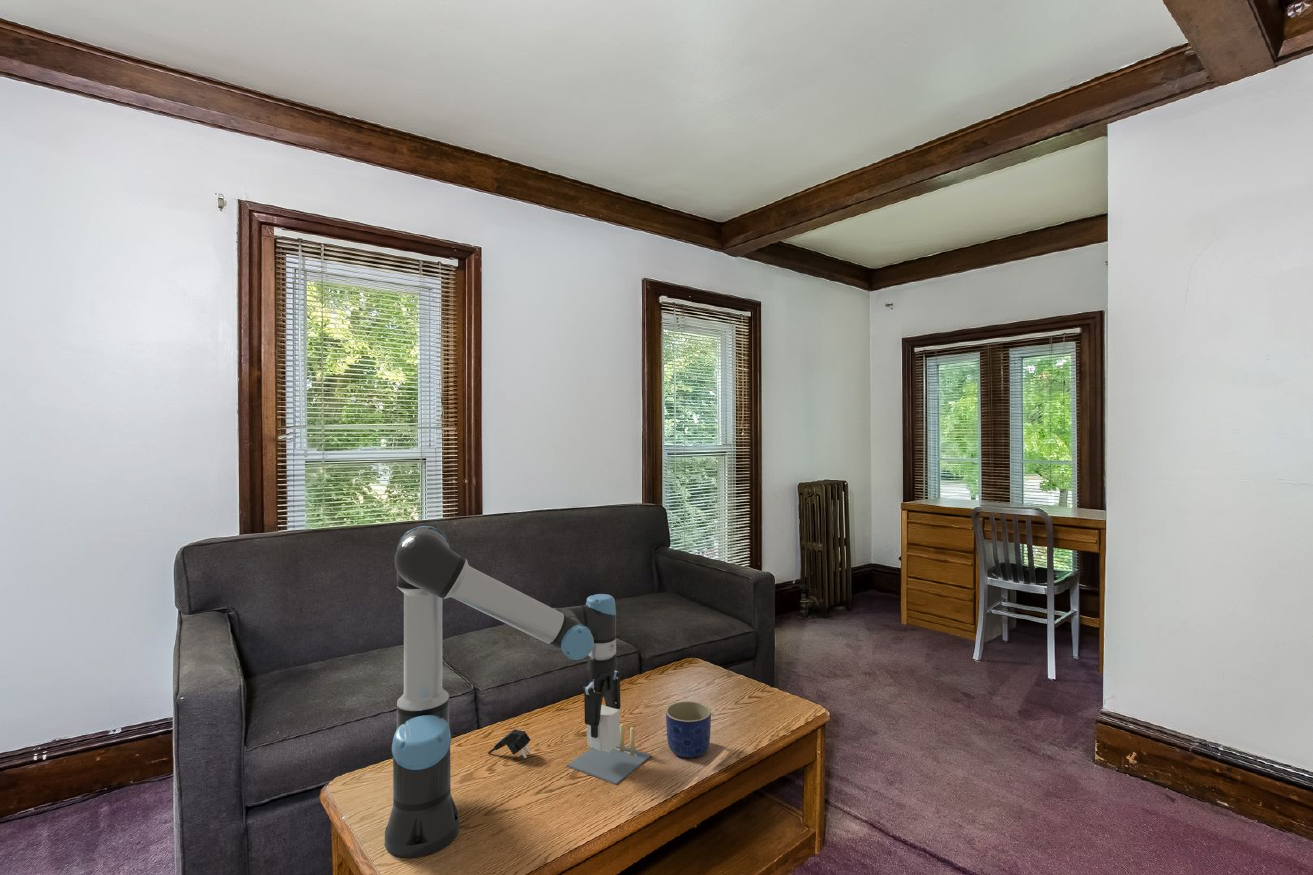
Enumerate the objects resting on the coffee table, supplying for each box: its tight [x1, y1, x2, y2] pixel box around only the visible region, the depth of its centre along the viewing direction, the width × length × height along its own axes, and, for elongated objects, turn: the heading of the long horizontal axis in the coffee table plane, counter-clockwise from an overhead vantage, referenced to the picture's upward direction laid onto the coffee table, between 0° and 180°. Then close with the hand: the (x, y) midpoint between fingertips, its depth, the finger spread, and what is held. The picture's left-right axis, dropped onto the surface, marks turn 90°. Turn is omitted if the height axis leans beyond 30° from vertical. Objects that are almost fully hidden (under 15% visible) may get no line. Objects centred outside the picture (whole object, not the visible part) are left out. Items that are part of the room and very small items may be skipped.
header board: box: [566, 723, 652, 785], centre depth 163 cm, size 16×16×7 cm
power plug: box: [487, 728, 532, 759], centre depth 166 cm, size 6×8×12 cm
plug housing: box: [586, 704, 621, 753], centre depth 160 cm, size 5×7×9 cm
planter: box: [665, 700, 712, 759], centre depth 168 cm, size 12×12×11 cm
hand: (603, 743), depth 160 cm, fingers closed on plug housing, 5 cm apart
